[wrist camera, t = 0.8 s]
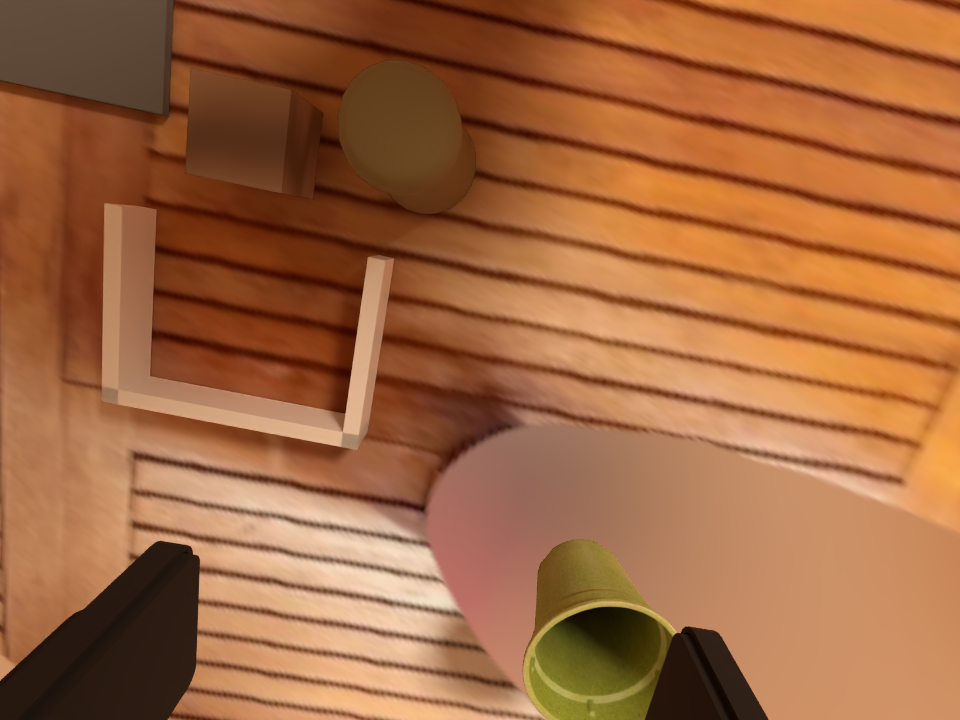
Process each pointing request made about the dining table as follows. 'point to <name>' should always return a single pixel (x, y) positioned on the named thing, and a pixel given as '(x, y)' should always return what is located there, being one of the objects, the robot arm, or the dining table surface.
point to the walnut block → (252, 134)
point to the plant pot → (592, 639)
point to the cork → (407, 136)
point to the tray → (134, 387)
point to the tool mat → (90, 49)
